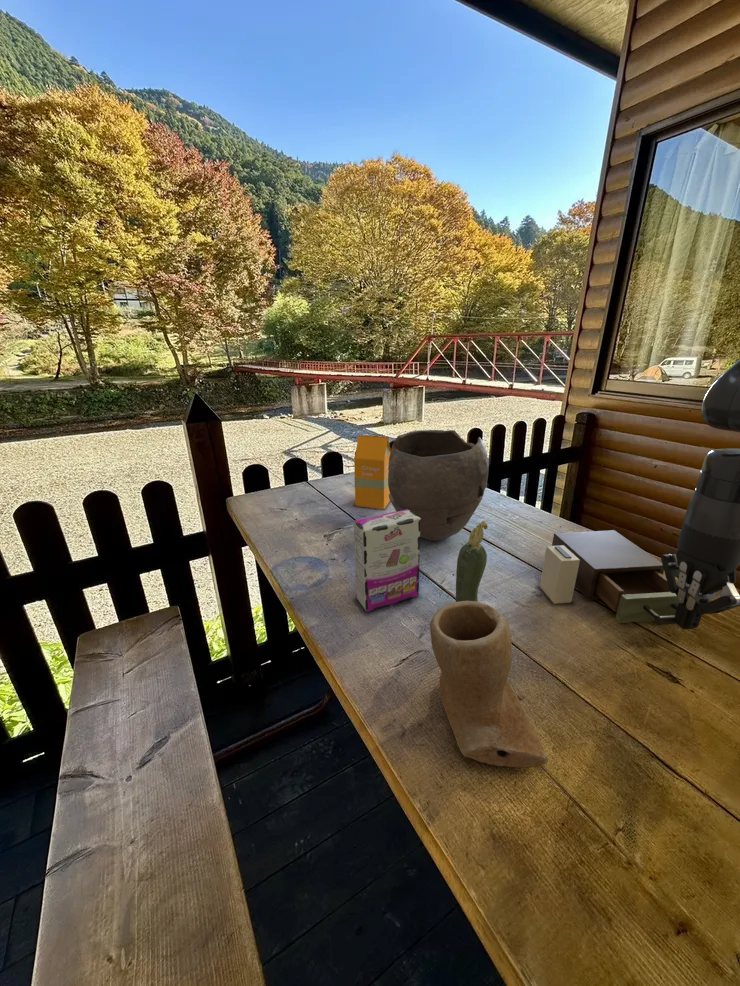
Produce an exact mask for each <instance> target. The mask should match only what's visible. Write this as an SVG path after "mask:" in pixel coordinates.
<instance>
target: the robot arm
mask: <svg viewBox="0 0 740 986" xmlns="http://www.w3.org/2000/svg"><path fill="white" fill-rule="evenodd" d="M701 416H702V419H703V421H704V423H706V425H708V426H709V427H711V428H713V429H717V430H722V431H729V432H733V433H740V359H738V360H737V361H736V362H735V363H734V364H733V365H732V366H731V367H729V368H728V369H727V370H726V371H725V372H723V374H722V375H720V377H719V378H717V379H716V381H715V382H714V383H713V384H712V385H711V387H710V388H709V389H708V390H707V392H706V394H705V396H704V398H703V400H702V404H701ZM679 532H680V533H679V535H678V539H677V542H676V547H677V550H676V552H675V553H672V554H671V553H669V554H668V553H667V554H662V555H661V556H660V560H661V561H660V562H661V563H662V564H663V568H664V572H663V573H664V576H665V577H666V579H667V583H668V587H669V590H670V592H671V593H675V594H676V595H677V600H678V602H679V603H678V607H677V610H676V613H675V619H676V620H675V623H676V624H675V625H677V626H678V627H680V628H681V629H682V630H694V629H697V628H698V627H699V625H700V623H701V619H702V616H703V615H714V614H720V613H722V612H726V611H729V610H731V609H734V608H737V607H740V594H739V592H738V590H737V588H736V587H735V583H736V582H737V575H736V570H737V569H738V567H739V566H740V448H733V447H732V448H729V447H728V448H716V449H713V450H711V451H709V452H708V453H707V454H706V456H705V457H704V459H703V462H702V465H701V469H700V472H699V476H698V479H697V483H696V485H695V489H694V491H693V494H692V496H691V497H690V500H689V502H688V504H687V508H686V512H685V515H684V518H683V522H682V525H681V528H680V531H679ZM676 578H677V580H676ZM718 592H719V594H718ZM714 598H716V599H714Z"/></svg>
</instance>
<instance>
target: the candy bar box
mask: <svg viewBox="0 0 740 986" xmlns="http://www.w3.org/2000/svg"><path fill="white" fill-rule="evenodd" d="M420 519H421V518H420V517H418V516H417V515H415V514H414V513H412V512H411V511H410V510H408V509H406V510H402V511H397V512H396V511H393V512H388V513H383V514H379V515H374V516H369V517H364V518H361V519H356V520H353V537H354V562H355V564H354V567H355V590H356V600H357V601H358V603H359V604H360V605H361V606H362V608H363V609H364V611H365V612H366V613H370V612H372V611H376V610H379V609H383V608H385V607H388V606H392V605H394V604H395V605H396V604H397V603H402V602H404V601H407V600H410V599H413V598H417V597H419V595H420V594H419V593H420V557H421V556H420V555H421V554H420V553H421V536H420Z"/></svg>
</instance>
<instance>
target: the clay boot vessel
mask: <svg viewBox="0 0 740 986" xmlns="http://www.w3.org/2000/svg"><path fill="white" fill-rule="evenodd" d="M429 629H430V642H431V647H432V652H433V654H434V657H435V660H436V662H437V665H438V667H439V669H440V671H441V674H440V676H439V679H438V684H439V685H438V686H439V695H440V700H441V703H442V706H443V708H444V712H445V713H446V716H447V720H448V722H449V725H450V727H451V731H452V732H453V736H454V738H455V741H456V744H457V746H458V749H459V751H460V753H461V754H462V755H463V756H464V757H465V758H470V759H472V760H474V761H477V762H479V763H481V764H483V763H484V764H487V765H492V766H496V767H507V768H517V769H518V768H533V767H537V766H543V765H546V764H547V763H548V762H549V756H548V753H547V751H546V750H545V747H544V745H543V743H542V741H541V739H540V737H539V735H538V733H537V731H536V729H535V727H534V725H533V724H532V721H531V720H530V718H529V717H528V714H527V713H526V710H525V708H524V706H523V705H522V703H521V701H520V699H519V697H518V696H517V694H516V692H515V690H514V689H513V687H512V686H511V684H510V682H509V681H508V680H507V679H508V676H509V674H510V672H511V668H512V658H513V647H512V646H513V645H512V644H513V642H512V632H511V629H510V625H509V623H508V622H507V619H506V618H505V617H504V615H503V614H501V613H500V612H499V611H498V610H497V609H495V607H493V606H491V605H489V604H487V603H484V602H480V601H478V602H476V601H459V602H456V601H453V602H450V603H448V604H445V605H443V606H441V607H440V608H438V609H437V611H436V612H435V613H434V614H433V616H432V618H431V619H430V624H429Z"/></svg>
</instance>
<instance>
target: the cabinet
mask: <svg viewBox="0 0 740 986" xmlns="http://www.w3.org/2000/svg"><path fill="white" fill-rule="evenodd" d="M561 545H564V546H565V547H566V548H567V549H568V550H569V551H570V552H572V553H573V554H574V555H575V556H576V557H577V558H578V559H579V560H580V562H579V567H578V572H577V577H576V582H575V587H574V588H576V589H577V590H578V591H579V592H580V594H582V595H583V596H584V597H585V598H586V599H587V601H592V600H602V599H601V598H600V597H599V596H598V595H597V594H596V593H595V592H594V589H595V584H596V580H597V575H598V573H601V572H619V571H637V570H657V571H658V572H660V573H661V574H662V575H664V573H665V572H664V568H663V564H662V561H660V560H658V559H657V558H656V557H654V556H652V555H651V554H650V553H648V552H647V551H645V550H644V549H642V548H641V547H640V546H638V545H637V544H635V543H634V542H633V541H631V540H629V539H628V538H626V537H625V536H624V535H622V534H620V533H619V532H618V531H616V530H615V529H611V530H591V531H589V530H587V531H568V532H554V533H553V538H552V543H551V546H561Z"/></svg>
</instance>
